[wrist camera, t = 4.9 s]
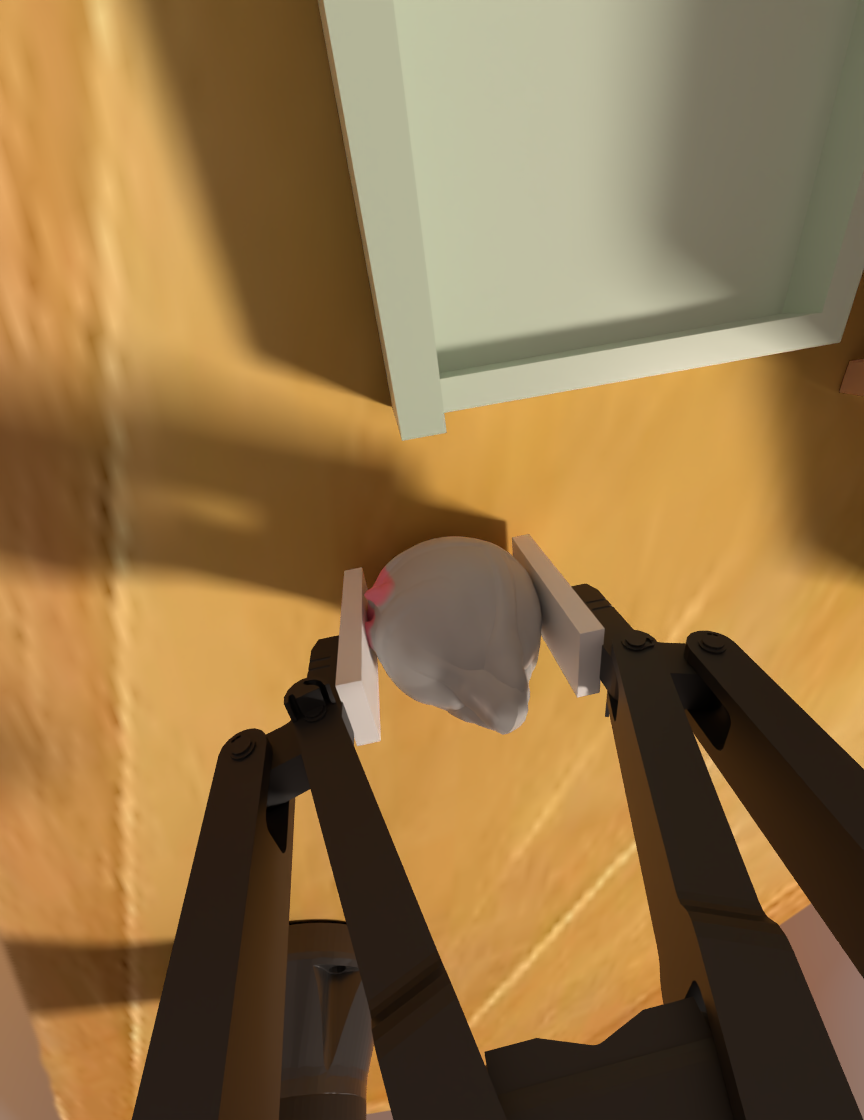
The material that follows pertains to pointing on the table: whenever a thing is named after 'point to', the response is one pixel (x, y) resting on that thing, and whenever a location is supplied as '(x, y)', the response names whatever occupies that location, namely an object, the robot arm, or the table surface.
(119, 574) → the table surface
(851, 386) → the wooden open box
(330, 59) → the tray
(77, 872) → the table surface
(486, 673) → the figurine
